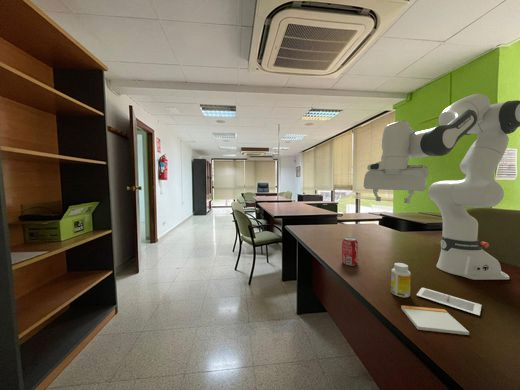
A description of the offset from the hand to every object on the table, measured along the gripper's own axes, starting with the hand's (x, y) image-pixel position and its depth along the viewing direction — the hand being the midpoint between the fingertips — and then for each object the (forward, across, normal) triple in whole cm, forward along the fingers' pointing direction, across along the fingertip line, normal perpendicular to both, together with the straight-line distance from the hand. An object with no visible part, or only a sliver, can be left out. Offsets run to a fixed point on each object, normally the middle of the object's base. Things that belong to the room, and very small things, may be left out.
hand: (391, 202), depth 83 cm
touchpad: (+31, -18, +4) cm, 36 cm away
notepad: (+31, -15, +19) cm, 39 cm away
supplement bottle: (+31, -6, +8) cm, 33 cm away
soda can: (+31, +17, -8) cm, 36 cm away
